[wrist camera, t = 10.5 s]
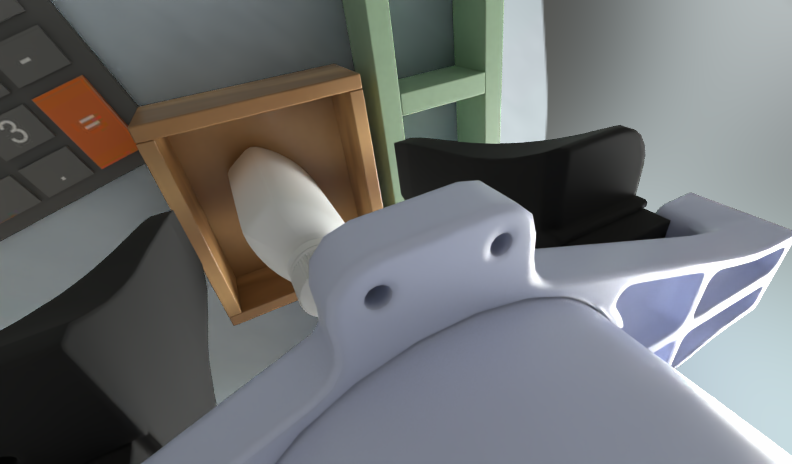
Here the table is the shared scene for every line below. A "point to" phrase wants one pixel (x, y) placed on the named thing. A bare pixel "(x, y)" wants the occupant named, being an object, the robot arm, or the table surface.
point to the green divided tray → (427, 79)
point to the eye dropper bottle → (281, 215)
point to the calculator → (55, 116)
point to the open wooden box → (266, 128)
